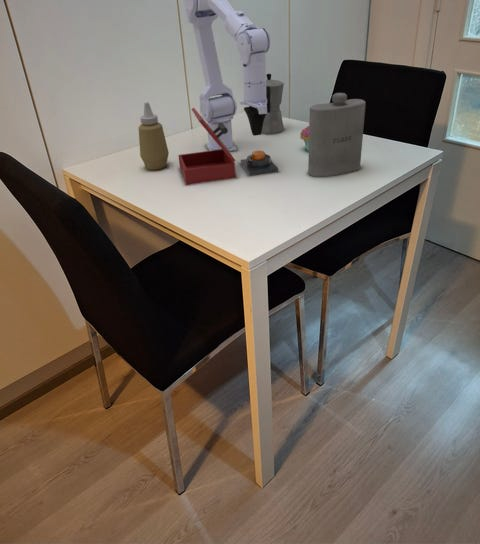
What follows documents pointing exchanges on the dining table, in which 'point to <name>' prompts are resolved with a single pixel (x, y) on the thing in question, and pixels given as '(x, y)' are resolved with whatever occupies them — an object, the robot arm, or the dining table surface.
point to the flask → (336, 136)
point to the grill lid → (213, 133)
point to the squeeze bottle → (152, 141)
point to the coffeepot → (273, 107)
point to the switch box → (258, 165)
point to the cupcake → (305, 137)
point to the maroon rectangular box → (206, 166)
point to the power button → (258, 155)
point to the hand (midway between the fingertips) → (256, 134)
